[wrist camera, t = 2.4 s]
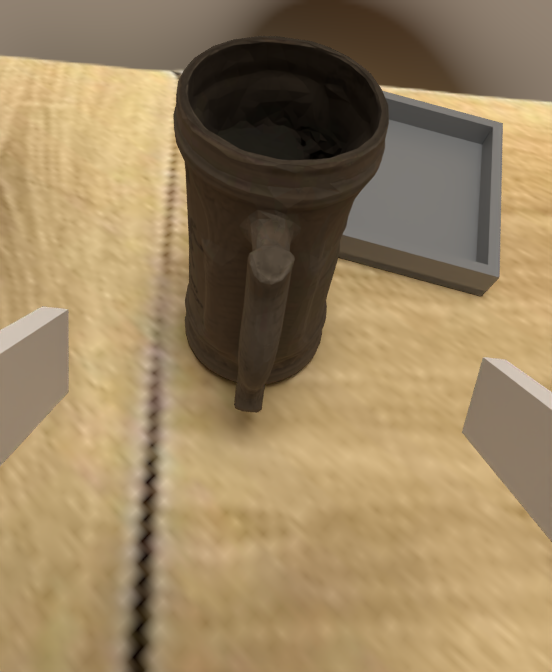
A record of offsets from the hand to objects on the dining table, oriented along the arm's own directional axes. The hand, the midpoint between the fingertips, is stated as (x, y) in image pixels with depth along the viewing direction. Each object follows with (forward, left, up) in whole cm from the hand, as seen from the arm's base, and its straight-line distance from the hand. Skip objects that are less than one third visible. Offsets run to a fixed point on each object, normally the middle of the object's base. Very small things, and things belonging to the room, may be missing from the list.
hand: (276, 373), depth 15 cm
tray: (+8, +31, -20) cm, 37 cm away
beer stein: (-2, +11, -20) cm, 22 cm away
